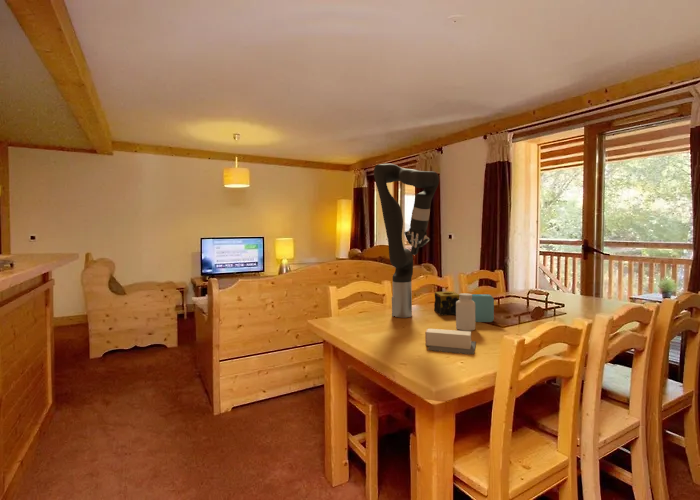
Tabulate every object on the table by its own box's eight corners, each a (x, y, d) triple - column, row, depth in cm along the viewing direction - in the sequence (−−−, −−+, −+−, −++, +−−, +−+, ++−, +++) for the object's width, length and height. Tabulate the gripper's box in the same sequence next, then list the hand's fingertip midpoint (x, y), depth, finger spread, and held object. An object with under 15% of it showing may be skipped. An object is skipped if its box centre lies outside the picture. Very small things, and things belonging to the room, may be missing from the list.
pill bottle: (476, 327, 167) (476, 293, 166) (474, 332, 159) (474, 296, 158) (457, 325, 170) (457, 292, 169) (454, 330, 163) (454, 295, 162)
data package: (491, 319, 178) (491, 294, 177) (493, 322, 174) (494, 296, 173) (465, 319, 180) (465, 294, 179) (466, 321, 176) (466, 296, 175)
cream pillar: (425, 331, 143) (470, 335, 137) (427, 328, 148) (471, 331, 142) (425, 345, 144) (470, 349, 138) (427, 341, 148) (471, 344, 143)
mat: (427, 350, 139) (427, 349, 139) (433, 338, 152) (433, 337, 152) (474, 354, 133) (474, 353, 133) (475, 342, 146) (475, 341, 146)
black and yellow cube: (433, 310, 198) (433, 291, 198) (453, 310, 199) (452, 291, 199) (440, 315, 188) (440, 295, 188) (460, 314, 189) (460, 294, 188)
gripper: (402, 214, 168) (397, 251, 174) (428, 222, 160) (421, 261, 166) (412, 212, 174) (407, 248, 180) (437, 220, 165) (430, 257, 171)
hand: (414, 254), depth 173 cm, fingers closed
